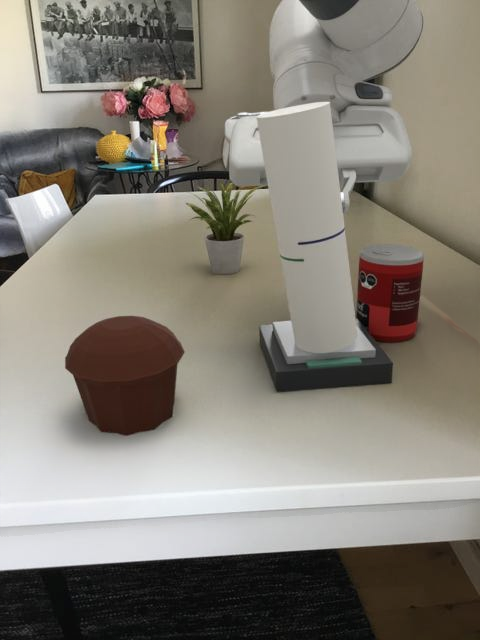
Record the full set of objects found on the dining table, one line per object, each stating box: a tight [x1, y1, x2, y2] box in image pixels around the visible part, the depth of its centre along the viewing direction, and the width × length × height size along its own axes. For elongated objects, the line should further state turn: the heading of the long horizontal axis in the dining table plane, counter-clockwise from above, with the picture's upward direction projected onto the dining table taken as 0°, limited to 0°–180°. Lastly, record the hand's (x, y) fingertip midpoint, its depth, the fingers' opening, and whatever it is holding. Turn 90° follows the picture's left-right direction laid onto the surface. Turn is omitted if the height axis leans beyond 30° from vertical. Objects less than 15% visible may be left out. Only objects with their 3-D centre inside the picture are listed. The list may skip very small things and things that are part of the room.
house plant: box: [185, 180, 265, 275], centre depth 101 cm, size 14×14×16 cm
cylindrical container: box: [256, 102, 357, 353], centre depth 60 cm, size 7×7×25 cm
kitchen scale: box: [258, 318, 394, 393], centre depth 68 cm, size 13×13×4 cm
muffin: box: [64, 315, 185, 437], centre depth 57 cm, size 12×11×10 cm
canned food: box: [355, 243, 425, 343], centre depth 74 cm, size 8×8×11 cm
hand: (325, 211), depth 61 cm, fingers closed on cylindrical container, 2 cm apart
